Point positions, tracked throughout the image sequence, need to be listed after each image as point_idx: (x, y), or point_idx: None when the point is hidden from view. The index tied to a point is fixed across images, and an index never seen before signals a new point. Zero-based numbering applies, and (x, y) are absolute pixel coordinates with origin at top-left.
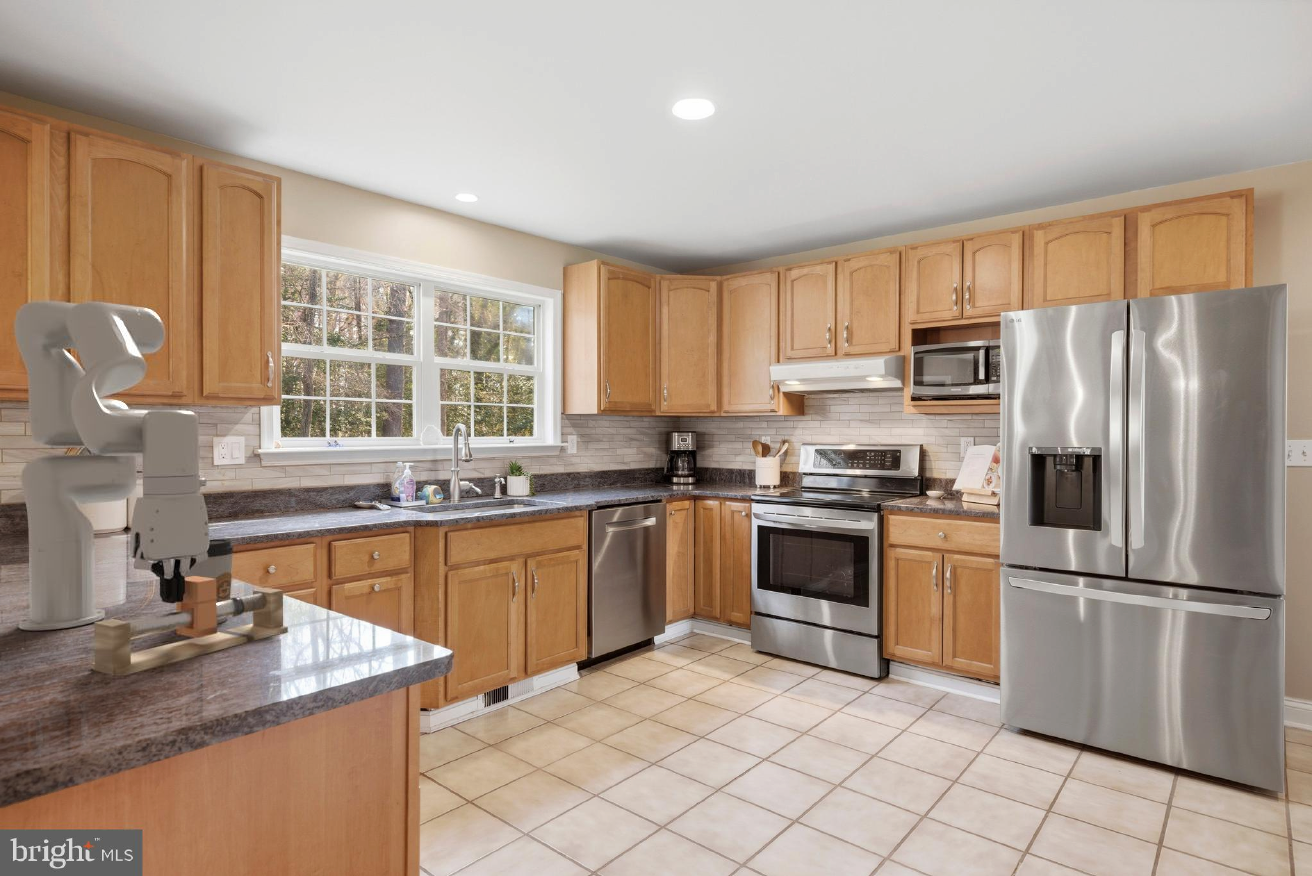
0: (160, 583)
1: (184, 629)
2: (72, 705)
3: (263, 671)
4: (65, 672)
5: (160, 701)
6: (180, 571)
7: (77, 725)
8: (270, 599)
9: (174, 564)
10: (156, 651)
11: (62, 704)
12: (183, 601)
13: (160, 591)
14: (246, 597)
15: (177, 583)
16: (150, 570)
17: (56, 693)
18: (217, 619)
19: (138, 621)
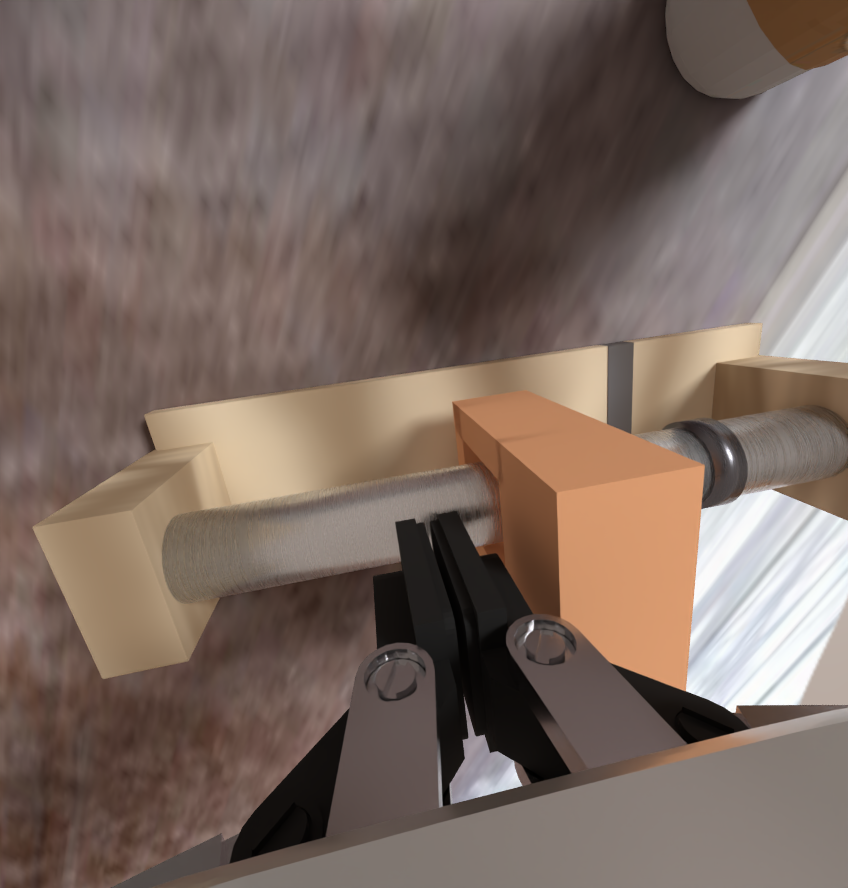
0: (379, 643)
1: (463, 461)
2: (59, 732)
3: (469, 770)
4: (71, 382)
5: (232, 820)
6: (524, 777)
7: (57, 856)
8: (816, 506)
9: (557, 740)
10: (357, 442)
11: (37, 709)
12: (501, 510)
13: (375, 599)
14: (769, 481)
15: (466, 695)
16: (280, 788)
17: (28, 606)
18: (735, 96)
19: (247, 585)
